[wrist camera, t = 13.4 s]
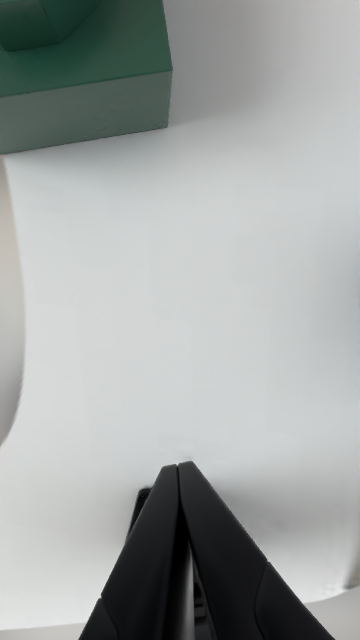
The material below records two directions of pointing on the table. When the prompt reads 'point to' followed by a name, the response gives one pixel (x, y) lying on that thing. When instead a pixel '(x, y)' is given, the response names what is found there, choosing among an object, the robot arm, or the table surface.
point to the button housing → (81, 70)
